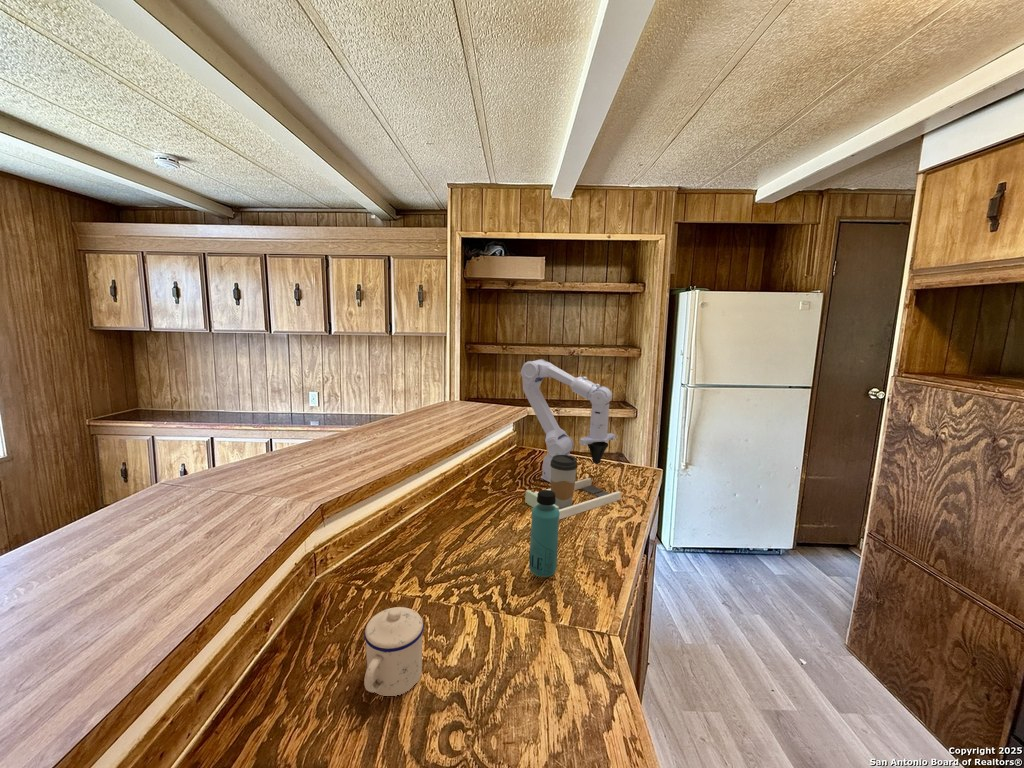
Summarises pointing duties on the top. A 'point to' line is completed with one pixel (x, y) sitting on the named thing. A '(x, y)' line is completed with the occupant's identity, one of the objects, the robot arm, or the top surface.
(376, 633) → the teacup with lid
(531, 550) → the beverage bottle
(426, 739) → the top surface
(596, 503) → the lane box
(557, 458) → the coffee cup
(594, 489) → the trap pits
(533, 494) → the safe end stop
